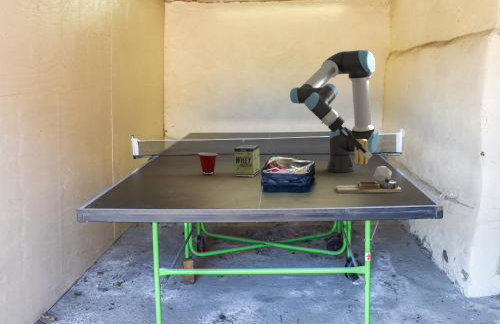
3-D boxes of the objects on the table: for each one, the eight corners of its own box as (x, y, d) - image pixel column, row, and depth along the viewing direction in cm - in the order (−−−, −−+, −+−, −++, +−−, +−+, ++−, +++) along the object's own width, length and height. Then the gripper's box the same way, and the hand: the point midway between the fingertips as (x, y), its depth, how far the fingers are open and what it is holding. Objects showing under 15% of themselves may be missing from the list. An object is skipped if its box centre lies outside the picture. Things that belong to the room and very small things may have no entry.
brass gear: (354, 162, 248) (354, 139, 247) (366, 162, 248) (367, 138, 246) (355, 164, 243) (355, 140, 241) (368, 164, 242) (368, 140, 240)
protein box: (234, 177, 289) (233, 148, 286) (242, 171, 304) (241, 144, 301) (253, 177, 286) (252, 148, 284) (260, 172, 301) (259, 144, 299)
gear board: (336, 188, 252) (336, 181, 251) (397, 187, 250) (397, 180, 249) (338, 192, 242) (338, 186, 242) (401, 191, 240) (401, 184, 240)
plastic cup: (221, 174, 297) (220, 153, 295) (202, 176, 293) (201, 154, 291) (215, 171, 307) (214, 151, 305) (196, 173, 303) (195, 152, 301)
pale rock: (383, 181, 269) (371, 166, 267) (397, 174, 263) (385, 159, 262) (379, 189, 262) (367, 174, 261) (394, 182, 257) (382, 167, 255)
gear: (375, 185, 250) (375, 176, 250) (395, 184, 250) (395, 176, 249) (378, 189, 241) (378, 180, 240) (399, 189, 240) (399, 180, 240)
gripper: (326, 124, 253) (361, 159, 254) (328, 128, 235) (366, 165, 236) (337, 113, 252) (372, 147, 253) (340, 116, 234) (378, 153, 234)
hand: (369, 156), depth 244 cm, fingers closed on brass gear, 6 cm apart
